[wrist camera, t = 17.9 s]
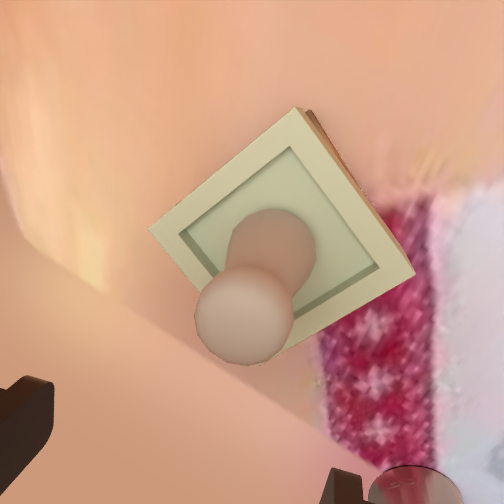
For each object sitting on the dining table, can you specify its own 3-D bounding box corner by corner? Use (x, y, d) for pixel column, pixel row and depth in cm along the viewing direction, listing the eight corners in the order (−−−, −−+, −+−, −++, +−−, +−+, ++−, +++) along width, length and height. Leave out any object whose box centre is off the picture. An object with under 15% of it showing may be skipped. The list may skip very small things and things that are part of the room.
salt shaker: (275, 296, 30) (239, 413, 18) (219, 241, 30) (144, 324, 18) (334, 243, 28) (339, 335, 16) (276, 184, 28) (234, 233, 16)
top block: (402, 248, 32) (416, 274, 26) (270, 330, 36) (259, 365, 31) (302, 108, 30) (294, 106, 25) (175, 212, 34) (147, 229, 29)
